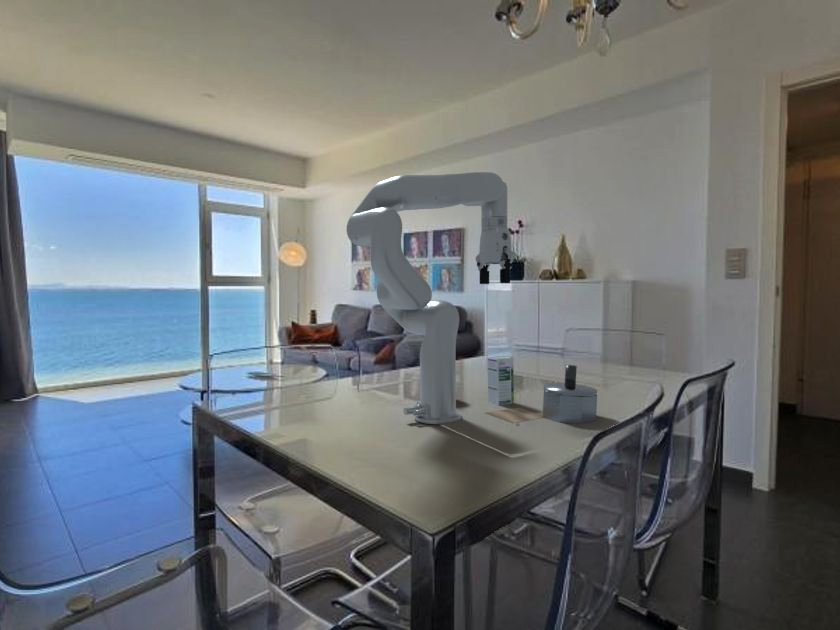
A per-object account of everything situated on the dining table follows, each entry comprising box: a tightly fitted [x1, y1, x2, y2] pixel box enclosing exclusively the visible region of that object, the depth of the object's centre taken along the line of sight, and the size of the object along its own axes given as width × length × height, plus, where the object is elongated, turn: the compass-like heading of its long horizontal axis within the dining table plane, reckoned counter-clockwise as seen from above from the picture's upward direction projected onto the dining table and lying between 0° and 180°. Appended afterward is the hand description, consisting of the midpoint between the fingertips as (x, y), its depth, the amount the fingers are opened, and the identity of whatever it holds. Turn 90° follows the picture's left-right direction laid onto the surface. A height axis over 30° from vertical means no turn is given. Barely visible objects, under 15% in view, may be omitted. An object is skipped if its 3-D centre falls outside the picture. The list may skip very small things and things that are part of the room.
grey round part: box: [542, 364, 598, 424], centre depth 126 cm, size 14×14×14 cm
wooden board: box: [485, 407, 545, 424], centre depth 128 cm, size 12×12×1 cm
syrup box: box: [486, 355, 515, 406], centre depth 143 cm, size 6×6×14 cm
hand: (494, 283), depth 139 cm, fingers open, 9 cm apart
